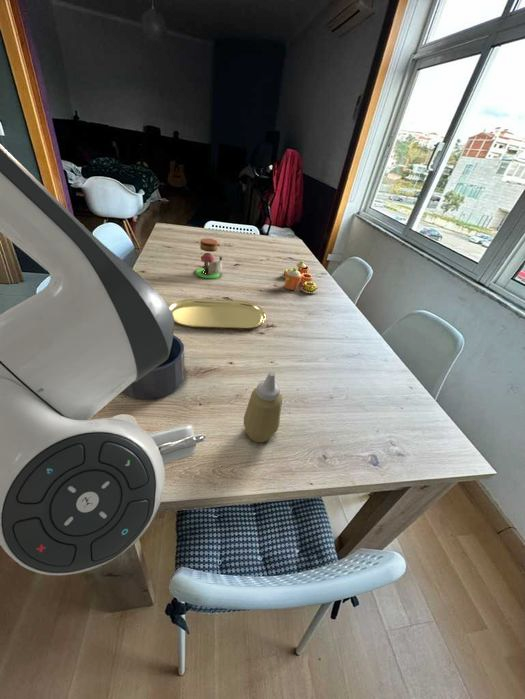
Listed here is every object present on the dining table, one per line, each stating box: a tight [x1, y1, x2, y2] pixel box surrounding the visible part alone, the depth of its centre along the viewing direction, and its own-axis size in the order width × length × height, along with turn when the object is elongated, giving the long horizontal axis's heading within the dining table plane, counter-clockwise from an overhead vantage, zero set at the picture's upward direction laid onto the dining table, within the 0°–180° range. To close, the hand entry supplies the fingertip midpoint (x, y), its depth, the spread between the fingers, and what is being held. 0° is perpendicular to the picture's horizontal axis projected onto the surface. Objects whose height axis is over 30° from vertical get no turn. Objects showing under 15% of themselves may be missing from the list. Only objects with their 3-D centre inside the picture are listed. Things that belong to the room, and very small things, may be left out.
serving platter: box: [168, 298, 267, 330], centre depth 106 cm, size 19×35×2 cm, turn 99°
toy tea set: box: [282, 260, 318, 294], centre depth 139 cm, size 26×16×10 cm, turn 2°
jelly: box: [111, 413, 138, 426], centre depth 56 cm, size 6×6×8 cm
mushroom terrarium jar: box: [195, 237, 223, 280], centre depth 130 cm, size 12×13×15 cm
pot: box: [121, 334, 186, 400], centre depth 74 cm, size 17×17×9 cm
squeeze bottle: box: [243, 371, 283, 443], centre depth 62 cm, size 8×8×18 cm
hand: (114, 453), depth 41 cm, fingers open, 8 cm apart
